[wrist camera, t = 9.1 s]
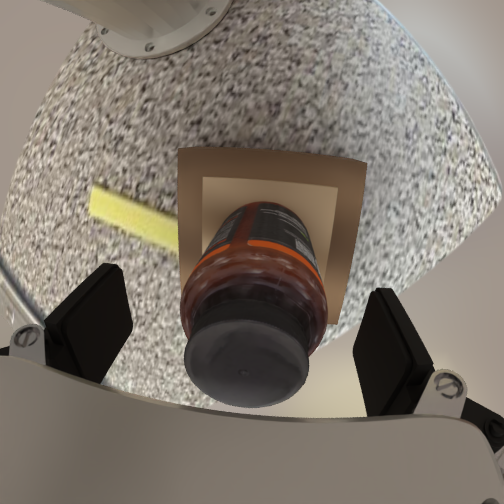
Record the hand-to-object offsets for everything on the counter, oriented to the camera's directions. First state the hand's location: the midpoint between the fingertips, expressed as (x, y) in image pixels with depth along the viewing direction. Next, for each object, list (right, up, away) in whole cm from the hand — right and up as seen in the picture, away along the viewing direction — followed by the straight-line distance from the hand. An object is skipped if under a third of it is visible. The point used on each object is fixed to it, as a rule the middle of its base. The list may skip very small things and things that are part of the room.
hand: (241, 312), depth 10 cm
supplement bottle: (+1, +3, +9) cm, 9 cm away
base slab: (+2, +4, +13) cm, 13 cm away
